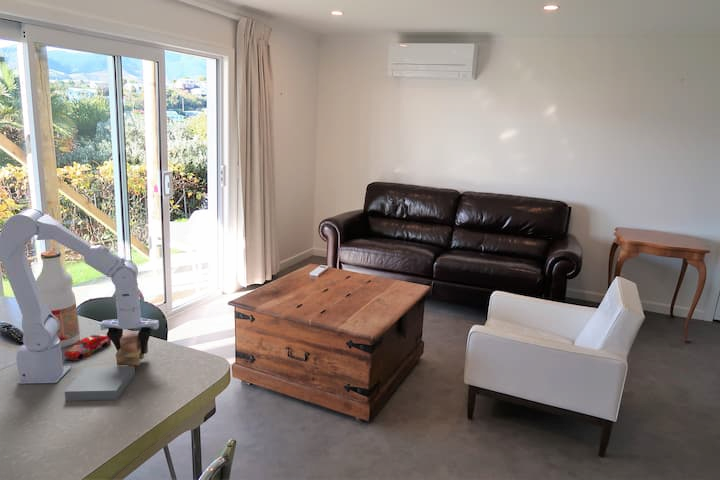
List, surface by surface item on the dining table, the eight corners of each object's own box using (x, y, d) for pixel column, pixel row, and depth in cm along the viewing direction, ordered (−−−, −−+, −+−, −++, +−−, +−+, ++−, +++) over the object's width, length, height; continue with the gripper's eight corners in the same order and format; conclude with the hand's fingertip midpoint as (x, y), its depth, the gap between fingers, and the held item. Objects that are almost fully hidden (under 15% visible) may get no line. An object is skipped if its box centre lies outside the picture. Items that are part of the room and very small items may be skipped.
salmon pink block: (120, 350, 131) (119, 339, 130) (127, 342, 136) (126, 331, 135) (136, 350, 132) (135, 338, 131) (142, 342, 136) (141, 330, 136)
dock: (65, 400, 118) (64, 391, 117) (88, 375, 130) (87, 366, 129) (117, 399, 119) (116, 390, 118) (135, 374, 131) (134, 365, 130)
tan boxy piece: (117, 365, 131) (115, 353, 130) (128, 351, 138) (127, 340, 137) (138, 365, 131) (137, 353, 130) (148, 351, 139) (147, 339, 138)
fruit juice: (83, 343, 147) (72, 254, 140) (46, 352, 141) (33, 259, 134) (77, 332, 154) (66, 246, 147) (42, 340, 148) (29, 251, 141)
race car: (73, 364, 136) (71, 351, 135) (60, 359, 138) (58, 346, 137) (114, 344, 147) (113, 332, 146) (102, 341, 149) (100, 328, 148)
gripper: (160, 300, 135) (164, 345, 139) (106, 300, 134) (111, 346, 138) (152, 310, 129) (156, 357, 132) (95, 310, 127) (100, 358, 131)
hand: (132, 352), depth 134 cm, fingers closed on tan boxy piece, 5 cm apart
